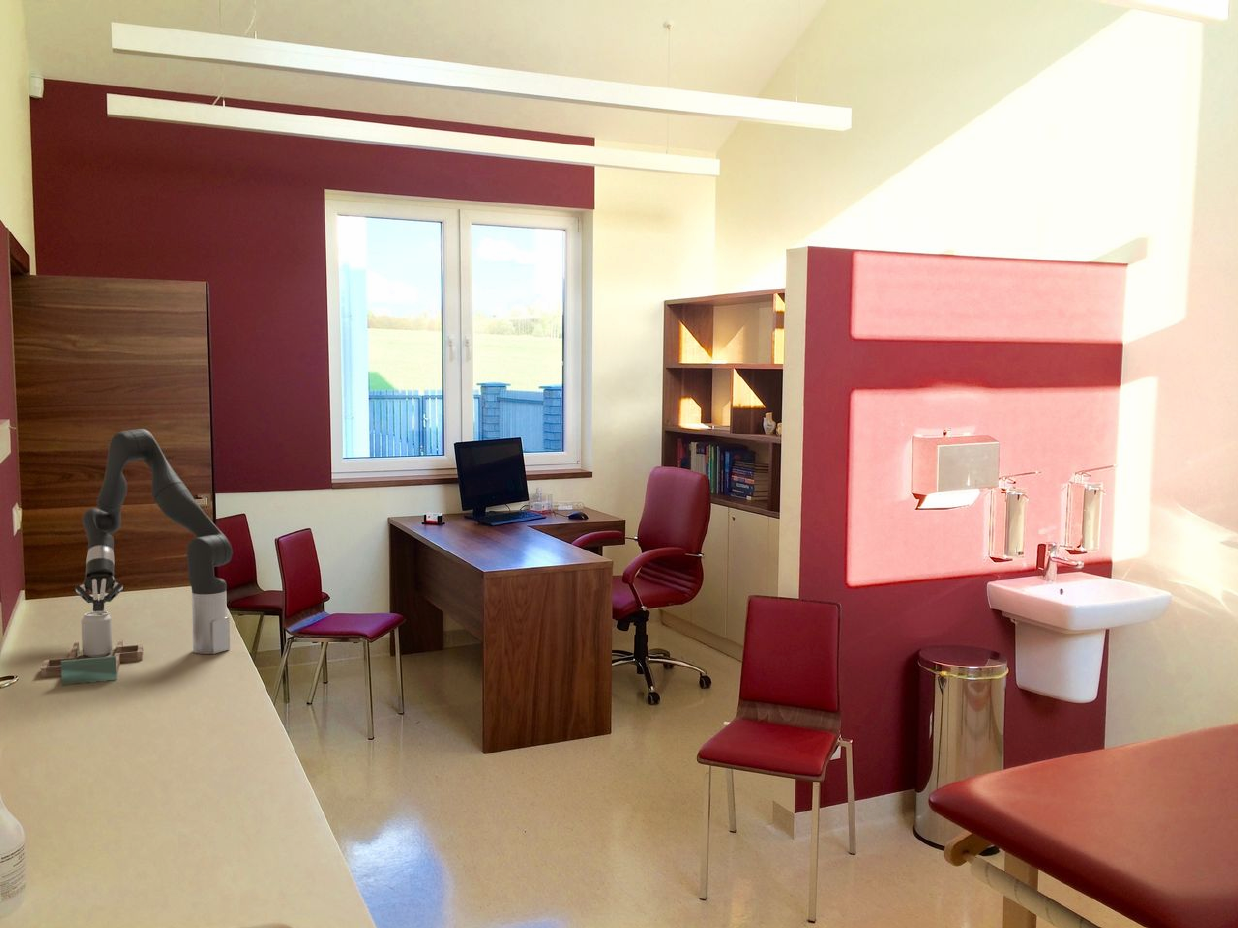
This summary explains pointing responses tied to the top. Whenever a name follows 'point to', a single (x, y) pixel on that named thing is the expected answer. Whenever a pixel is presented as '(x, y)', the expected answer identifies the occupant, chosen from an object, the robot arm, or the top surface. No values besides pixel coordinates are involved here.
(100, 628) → the can
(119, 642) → the trap channel
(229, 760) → the top surface
